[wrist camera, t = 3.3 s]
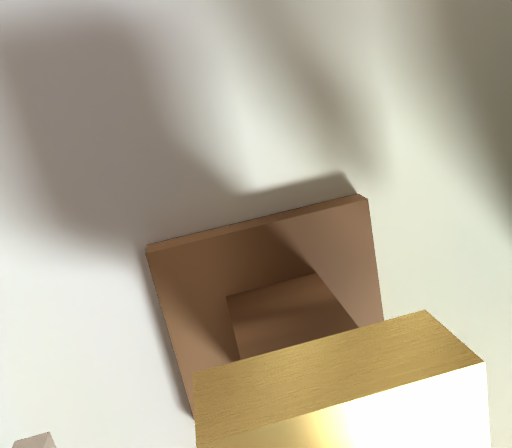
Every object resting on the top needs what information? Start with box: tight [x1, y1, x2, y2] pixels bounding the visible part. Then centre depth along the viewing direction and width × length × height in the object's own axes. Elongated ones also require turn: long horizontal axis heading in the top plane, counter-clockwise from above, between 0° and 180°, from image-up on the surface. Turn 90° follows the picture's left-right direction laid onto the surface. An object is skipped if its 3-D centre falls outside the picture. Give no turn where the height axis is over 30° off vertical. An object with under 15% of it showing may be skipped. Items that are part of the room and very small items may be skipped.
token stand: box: [145, 194, 384, 421], centre depth 13 cm, size 7×7×6 cm
